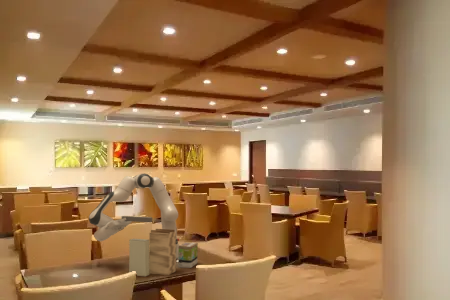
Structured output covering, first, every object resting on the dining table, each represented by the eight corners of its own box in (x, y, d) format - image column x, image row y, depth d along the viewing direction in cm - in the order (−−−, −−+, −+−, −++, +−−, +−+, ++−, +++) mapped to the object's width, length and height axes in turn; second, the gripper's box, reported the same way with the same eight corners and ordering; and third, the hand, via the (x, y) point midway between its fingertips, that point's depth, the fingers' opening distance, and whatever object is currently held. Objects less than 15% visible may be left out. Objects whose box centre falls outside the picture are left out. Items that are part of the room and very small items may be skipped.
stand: (157, 269, 273) (157, 228, 274) (175, 271, 268) (175, 229, 269) (149, 273, 264) (149, 230, 265) (168, 275, 259) (168, 231, 260)
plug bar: (124, 220, 279) (124, 215, 279) (152, 221, 271) (152, 217, 271) (121, 220, 276) (121, 216, 276) (149, 222, 268) (149, 217, 268)
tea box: (192, 268, 276) (191, 246, 277) (177, 267, 278) (177, 245, 279) (197, 263, 291) (197, 242, 292) (184, 262, 293) (184, 241, 294)
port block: (133, 273, 264) (133, 238, 265) (149, 274, 260) (149, 239, 261) (129, 274, 260) (129, 239, 261) (145, 276, 256) (145, 240, 257)
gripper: (101, 225, 271) (116, 215, 267) (120, 221, 290) (134, 212, 286) (105, 233, 270) (120, 224, 266) (124, 229, 289) (138, 220, 285)
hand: (128, 217), depth 276 cm, fingers closed on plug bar, 3 cm apart
